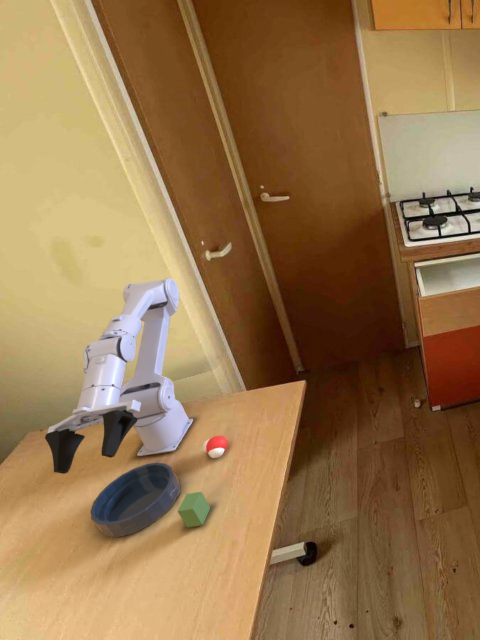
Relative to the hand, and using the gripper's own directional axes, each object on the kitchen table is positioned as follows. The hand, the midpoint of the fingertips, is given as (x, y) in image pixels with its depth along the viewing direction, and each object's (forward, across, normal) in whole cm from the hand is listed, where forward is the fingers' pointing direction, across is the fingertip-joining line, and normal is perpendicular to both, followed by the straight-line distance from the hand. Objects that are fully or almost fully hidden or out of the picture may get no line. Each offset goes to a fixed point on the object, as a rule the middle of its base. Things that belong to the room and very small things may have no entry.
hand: (84, 464), depth 75 cm
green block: (+10, +9, +19) cm, 23 cm away
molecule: (-4, +7, +26) cm, 27 cm away
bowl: (+4, -4, +20) cm, 20 cm away
